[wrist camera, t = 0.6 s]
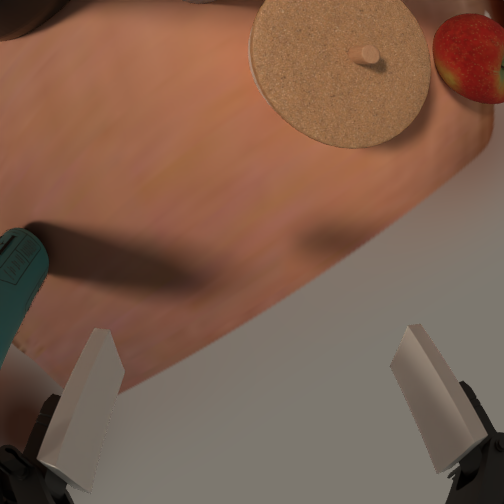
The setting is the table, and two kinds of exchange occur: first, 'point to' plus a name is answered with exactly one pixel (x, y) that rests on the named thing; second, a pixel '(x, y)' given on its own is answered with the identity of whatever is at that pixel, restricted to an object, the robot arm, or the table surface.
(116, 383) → the robot arm
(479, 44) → the apple
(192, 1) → the post
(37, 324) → the table surface
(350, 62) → the lidded jar
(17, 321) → the beverage bottle
